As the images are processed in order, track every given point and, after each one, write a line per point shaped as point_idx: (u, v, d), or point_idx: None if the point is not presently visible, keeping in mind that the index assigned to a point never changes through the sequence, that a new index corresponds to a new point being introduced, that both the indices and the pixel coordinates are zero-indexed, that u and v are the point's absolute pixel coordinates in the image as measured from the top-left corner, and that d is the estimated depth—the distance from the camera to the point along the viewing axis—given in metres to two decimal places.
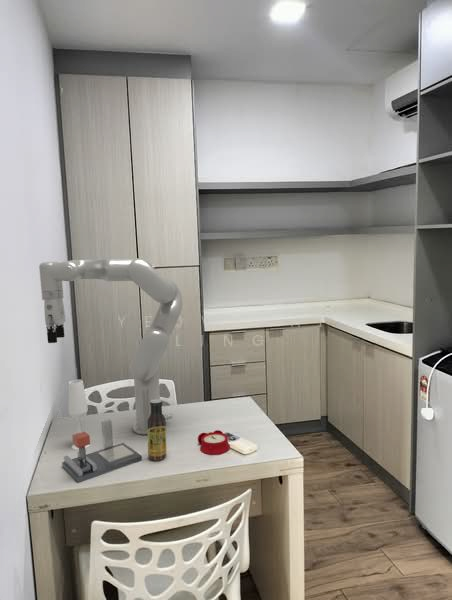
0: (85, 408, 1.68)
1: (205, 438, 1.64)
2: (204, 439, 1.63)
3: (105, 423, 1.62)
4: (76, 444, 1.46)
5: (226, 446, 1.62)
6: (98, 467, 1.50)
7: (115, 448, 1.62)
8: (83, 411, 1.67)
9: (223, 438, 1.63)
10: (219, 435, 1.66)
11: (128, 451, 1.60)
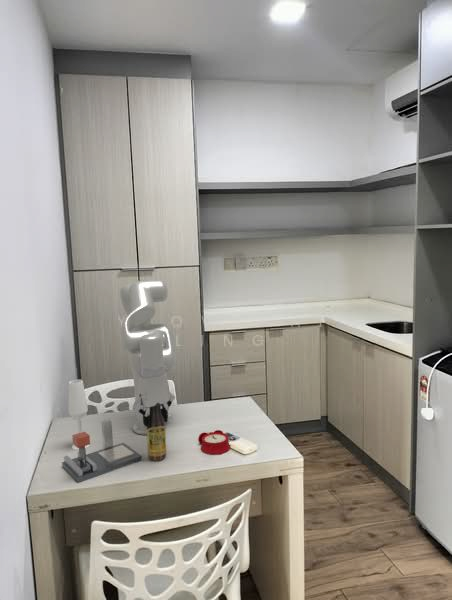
0: (85, 408, 1.68)
1: (206, 438, 1.64)
2: (205, 439, 1.64)
3: (105, 423, 1.62)
4: (76, 444, 1.46)
5: (227, 446, 1.62)
6: (98, 467, 1.50)
7: (115, 448, 1.62)
8: (83, 411, 1.67)
9: (224, 438, 1.63)
10: (220, 435, 1.66)
11: (128, 451, 1.60)
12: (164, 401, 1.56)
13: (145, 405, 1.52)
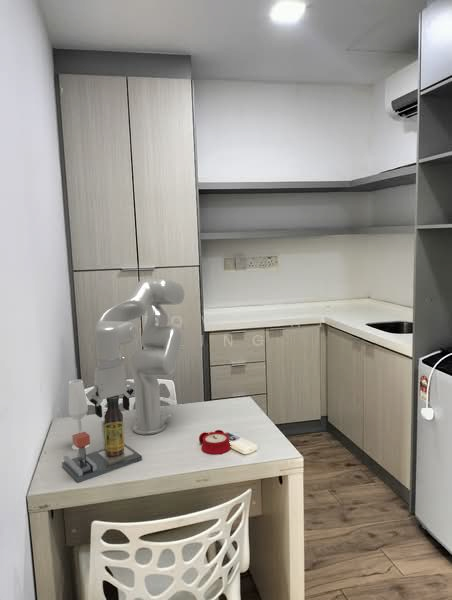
0: (85, 408, 1.68)
1: (206, 438, 1.65)
2: (205, 439, 1.64)
3: None
4: (76, 444, 1.46)
5: (227, 446, 1.62)
6: (98, 467, 1.50)
7: None
8: (83, 411, 1.67)
9: (225, 438, 1.64)
10: (220, 435, 1.67)
11: (128, 451, 1.60)
12: (121, 392, 1.56)
13: (101, 396, 1.52)
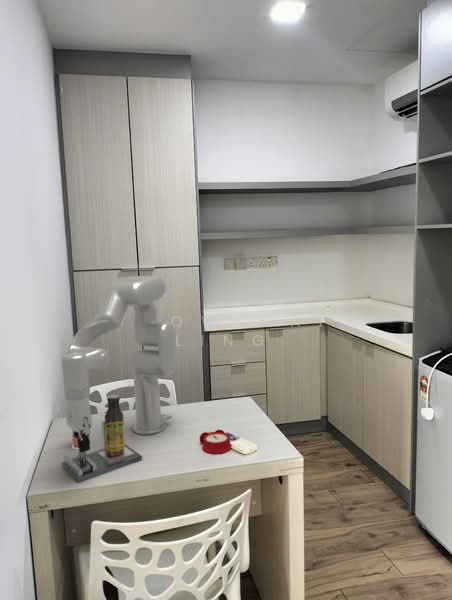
0: None
1: (207, 438, 1.65)
2: (206, 439, 1.64)
3: None
4: (76, 444, 1.46)
5: (228, 445, 1.62)
6: (98, 467, 1.50)
7: None
8: None
9: (225, 438, 1.64)
10: (221, 434, 1.67)
11: (128, 451, 1.60)
12: None
13: (91, 425, 1.45)
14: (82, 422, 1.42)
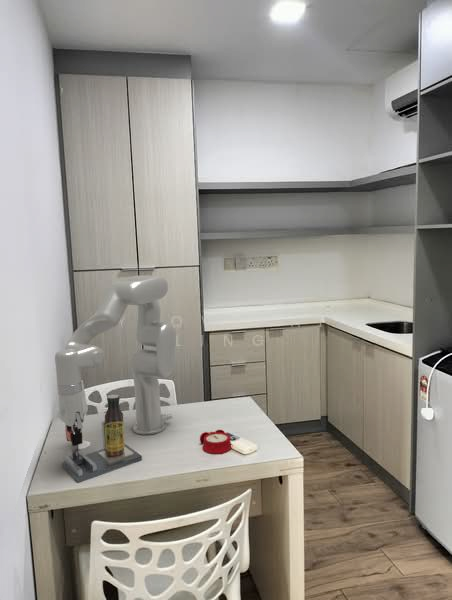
0: (85, 408, 1.68)
1: (207, 437, 1.65)
2: (206, 438, 1.64)
3: None
4: (69, 438, 1.51)
5: (228, 445, 1.62)
6: (98, 467, 1.50)
7: None
8: (83, 411, 1.67)
9: (226, 438, 1.64)
10: (221, 434, 1.67)
11: (128, 451, 1.60)
12: None
13: (83, 420, 1.50)
14: (74, 416, 1.47)
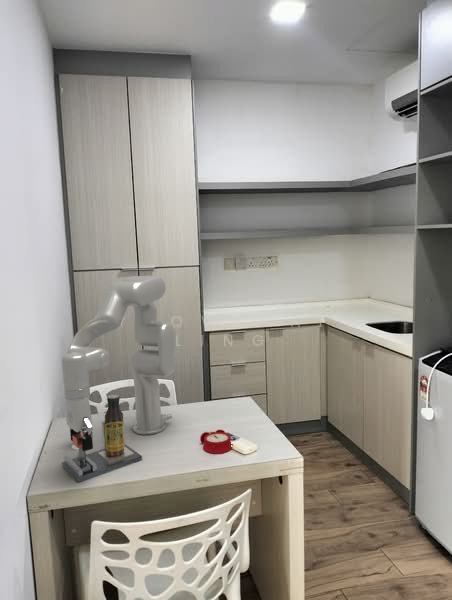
0: None
1: (208, 437, 1.65)
2: (207, 438, 1.64)
3: None
4: (76, 444, 1.46)
5: (229, 445, 1.62)
6: (98, 467, 1.50)
7: None
8: None
9: (226, 438, 1.64)
10: (221, 434, 1.67)
11: (128, 451, 1.60)
12: None
13: None
14: (82, 422, 1.42)
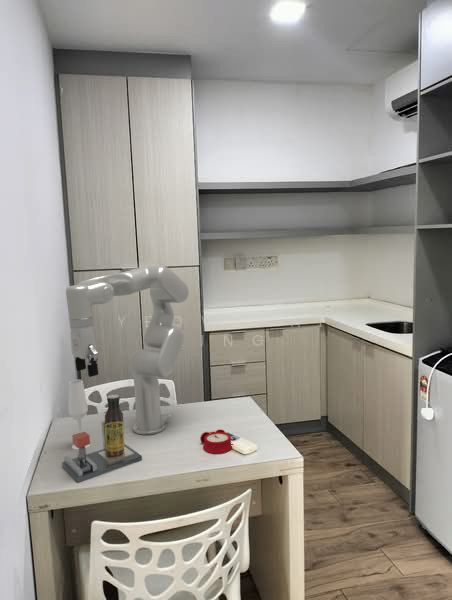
0: (85, 408, 1.68)
1: (208, 437, 1.65)
2: (207, 438, 1.64)
3: None
4: (76, 444, 1.46)
5: (229, 445, 1.62)
6: (98, 467, 1.50)
7: None
8: (83, 411, 1.67)
9: (226, 437, 1.64)
10: (222, 434, 1.67)
11: (128, 451, 1.60)
12: None
13: None
14: (87, 349, 1.51)
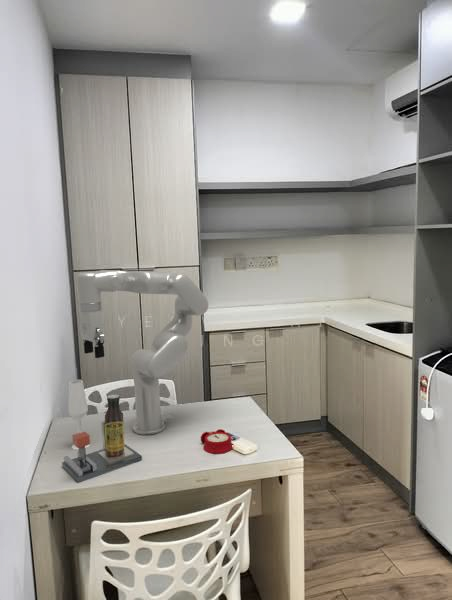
0: (85, 408, 1.68)
1: (208, 437, 1.65)
2: (207, 438, 1.64)
3: None
4: (76, 444, 1.46)
5: (229, 445, 1.62)
6: (98, 467, 1.50)
7: None
8: (83, 411, 1.67)
9: (227, 437, 1.64)
10: (222, 434, 1.67)
11: (128, 451, 1.60)
12: None
13: None
14: (95, 332, 1.62)
